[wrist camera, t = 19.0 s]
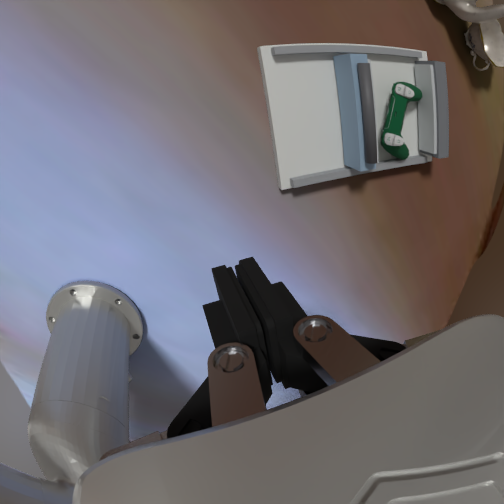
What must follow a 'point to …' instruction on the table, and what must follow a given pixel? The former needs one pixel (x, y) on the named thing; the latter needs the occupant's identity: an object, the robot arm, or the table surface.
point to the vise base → (328, 110)
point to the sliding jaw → (357, 110)
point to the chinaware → (481, 30)
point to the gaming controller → (398, 118)
